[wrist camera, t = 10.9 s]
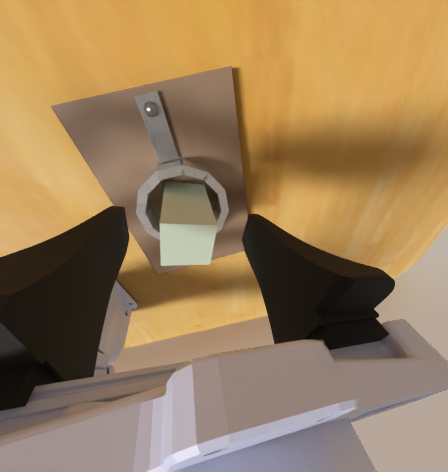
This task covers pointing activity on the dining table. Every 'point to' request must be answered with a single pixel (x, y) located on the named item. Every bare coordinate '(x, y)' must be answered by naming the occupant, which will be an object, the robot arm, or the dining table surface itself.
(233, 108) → the cup bracket
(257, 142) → the dining table surface
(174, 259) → the sage peg
